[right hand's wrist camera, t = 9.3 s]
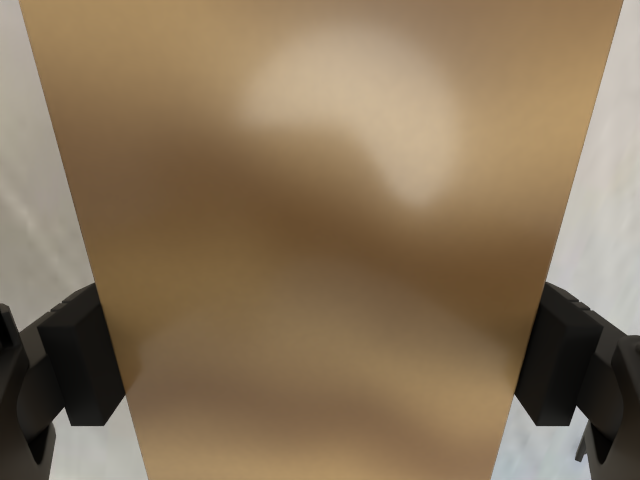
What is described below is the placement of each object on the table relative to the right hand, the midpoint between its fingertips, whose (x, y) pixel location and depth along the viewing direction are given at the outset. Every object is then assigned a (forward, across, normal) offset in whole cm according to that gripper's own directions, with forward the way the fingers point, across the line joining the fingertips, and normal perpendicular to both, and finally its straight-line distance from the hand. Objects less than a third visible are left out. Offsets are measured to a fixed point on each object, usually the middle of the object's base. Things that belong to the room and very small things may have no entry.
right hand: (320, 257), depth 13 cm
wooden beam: (+1, 0, -29) cm, 29 cm away
